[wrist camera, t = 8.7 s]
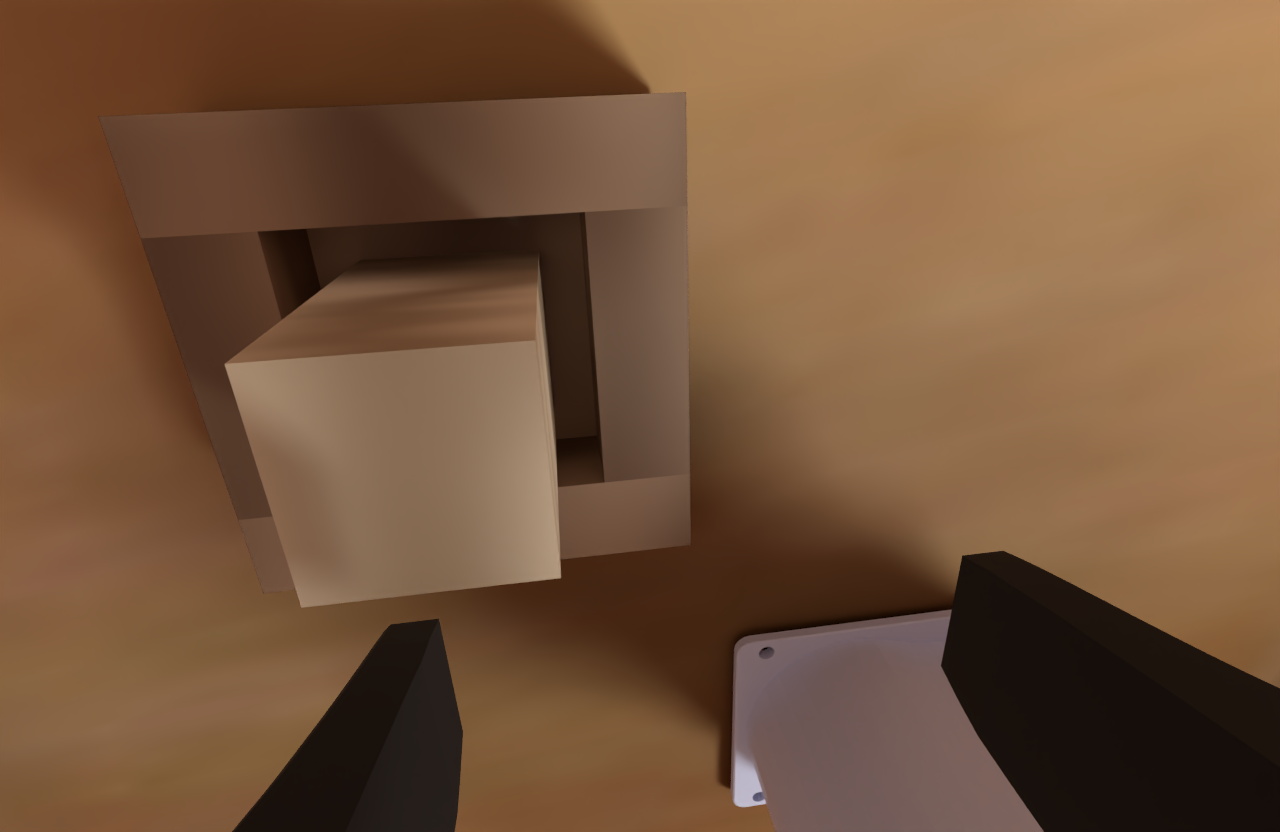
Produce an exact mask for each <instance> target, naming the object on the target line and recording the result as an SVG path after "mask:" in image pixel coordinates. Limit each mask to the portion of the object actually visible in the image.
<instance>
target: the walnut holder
mask: <svg viewBox="0 0 1280 832" xmlns="http://www.w3.org/2000/svg"><path fill="white" fill-rule="evenodd" d="M98 117H99V120H100V123H101V126H102V129H103V132H104V134H105V137H106V140H107V143H108V146H109V149H110V152H111V155H112V157H113V160H114V163H115V166H116V169H117V172H118V175H119V178H120V181H121V183H122V186H123V189H124V192H125V195H126V198H127V201H128V204H129V206H130V209H131V212H132V215H133V218H134V221H135V224H136V227H137V230H138V232H139V235H140V238H141V241H142V244H143V247H144V250H145V253H146V256H147V258H148V261H149V264H150V267H151V270H152V273H153V276H154V279H155V281H156V284H157V287H158V290H159V293H160V296H161V299H162V302H163V305H164V307H165V310H166V313H167V316H168V319H169V322H170V325H171V328H172V331H173V333H174V336H175V339H176V342H177V345H178V348H179V351H180V354H181V356H182V359H183V362H184V365H185V368H186V371H187V374H188V377H189V380H190V382H191V385H192V388H193V391H194V394H195V397H196V400H197V403H198V405H199V408H200V411H201V414H202V417H203V420H204V423H205V426H206V429H207V431H208V434H209V437H210V440H211V443H212V446H213V449H214V452H215V455H216V457H217V460H218V463H219V466H220V469H221V472H222V475H223V478H224V480H225V483H226V486H227V489H228V492H229V495H230V498H231V501H232V504H233V506H234V509H235V512H236V515H237V518H238V521H239V524H240V527H241V529H242V532H243V535H244V538H245V541H246V544H247V547H248V550H249V553H250V555H251V558H252V561H253V564H254V567H255V570H256V573H257V576H258V579H259V581H260V584H261V587H262V590H263V593H272V592H281V591H290V590H296V588H295V585H294V582H293V579H292V576H291V573H290V569H289V566H288V563H287V560H286V557H285V554H284V550H283V547H282V544H281V541H280V538H279V535H278V532H277V528H276V525H275V522H274V519H273V516H272V513H271V509H270V506H269V503H268V500H267V497H266V494H265V490H264V487H263V484H262V481H261V478H260V475H259V472H258V468H257V465H256V462H255V459H254V456H253V453H252V449H251V446H250V443H249V440H248V437H247V434H246V430H245V427H244V424H243V421H242V418H241V415H240V412H239V408H238V405H237V402H236V399H235V396H234V393H233V389H232V386H231V383H230V380H229V377H228V374H227V370H226V367H225V363H226V362H228V361H229V360H230V359H232V358H233V357H234V356H236V355H237V354H238V353H239V352H241V351H242V350H243V349H245V348H246V347H247V346H249V345H250V344H251V343H252V342H254V341H255V340H256V339H258V338H259V337H260V336H262V335H263V334H264V333H266V332H267V331H268V330H269V329H271V328H272V327H273V326H275V325H276V324H277V323H279V322H280V321H281V320H283V319H284V318H285V317H286V316H288V315H289V314H290V313H292V312H293V311H294V310H296V309H297V308H298V307H300V306H301V305H302V304H303V303H305V302H306V301H307V300H309V299H310V298H311V297H313V296H314V295H315V294H316V293H318V292H319V291H320V290H322V289H323V288H324V287H326V286H327V285H328V284H330V283H331V282H332V281H333V280H335V279H336V278H337V277H339V276H340V275H341V274H343V273H344V272H345V271H347V270H348V269H349V268H350V267H352V266H353V265H354V264H356V263H357V262H358V261H360V260H369V259H385V258H401V257H417V256H433V255H449V254H466V253H482V252H498V251H514V250H530V249H539V256H540V266H541V276H542V286H543V296H544V306H545V316H546V326H547V336H548V346H549V356H550V366H551V376H552V386H553V396H554V406H555V431H556V457H557V484H558V510H559V536H560V560H562V559H571V558H580V557H589V556H598V555H606V554H615V553H624V552H633V551H642V550H651V549H659V548H668V547H677V546H686V545H691V517H690V423H689V328H688V234H687V140H686V92H677V93H653V94H629V95H604V96H580V97H556V98H532V99H508V100H484V101H459V102H435V103H411V104H387V105H363V106H338V107H314V108H290V109H266V110H242V111H218V112H193V113H169V114H145V115H121V116H98Z"/></svg>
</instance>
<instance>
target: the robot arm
mask: <svg viewBox="0 0 1280 832" xmlns="http://www.w3.org/2000/svg"><path fill="white" fill-rule="evenodd" d="M765 647H769V648H767V649H766V650H761V649H763V648H765ZM462 738H463V730H462V726H461V721H460V716H459V712H458V707H457V702H456V698H455V693H454V688H453V684H452V679H451V674H450V670H449V665H448V660H447V655H446V651H445V646H444V641H443V637H442V632H441V627H440V623H439V619H433V620H425V621H417V622H409V623H400V624H392V625H390V626H389V627H388V628H387V629H386V630H385V631H384V632H383V634H382V635H381V636H380V638H379V639H378V641H377V642H376V643H375V645H374V646H373V648H372V649H371V650H370V652H369V653H368V655H367V656H366V658H365V659H364V660H363V662H362V663H361V665H360V666H359V667H358V669H357V670H356V672H355V673H354V675H353V676H352V677H351V679H350V680H349V682H348V683H347V684H346V686H345V687H344V689H343V690H342V691H341V693H340V694H339V695H338V697H337V698H336V699H335V701H334V702H333V704H332V705H331V706H330V708H329V709H328V710H327V712H326V713H325V715H324V716H323V717H322V719H321V720H320V721H319V723H318V724H317V725H316V727H315V728H314V729H313V730H312V732H311V733H310V734H309V736H308V737H307V738H306V740H305V741H304V742H303V744H302V745H301V746H300V748H299V749H298V750H297V751H296V753H295V754H294V755H293V757H292V758H291V759H290V761H289V762H288V763H287V765H286V766H285V767H284V769H283V770H282V771H281V772H280V774H279V775H278V776H277V778H276V779H275V780H274V781H273V783H272V784H271V785H270V786H269V788H268V789H267V790H266V791H265V793H264V794H263V795H262V796H261V798H260V799H259V800H258V801H257V802H256V804H255V805H254V806H253V807H252V808H251V810H250V811H249V812H248V813H247V814H246V816H245V817H244V818H243V819H242V821H241V822H240V823H239V824H238V825H237V827H236V828H235V829H234V830H233V831H232V832H454V831H455V825H456V819H457V812H458V798H459V785H460V771H461V754H462ZM731 795H732V799H733V802H734V804H735V805H737V806H740V807H748V806H755V805H761V804H767V807H768V810H769V813H770V817H771V820H772V823H773V826H774V829H775V832H1280V688H1278V687H1275V686H1273V685H1271V684H1269V683H1267V682H1265V681H1263V680H1261V679H1258V678H1256V677H1254V676H1252V675H1250V674H1248V673H1246V672H1244V671H1241V670H1239V669H1237V668H1235V667H1233V666H1231V665H1229V664H1227V663H1225V662H1223V661H1221V660H1219V659H1217V658H1215V657H1213V656H1211V655H1209V654H1207V653H1205V652H1203V651H1201V650H1199V649H1197V648H1195V647H1193V646H1191V645H1189V644H1187V643H1185V642H1183V641H1181V640H1179V639H1177V638H1175V637H1173V636H1171V635H1169V634H1167V633H1165V632H1163V631H1161V630H1160V629H1158V628H1156V627H1154V626H1152V625H1150V624H1148V623H1146V622H1144V621H1142V620H1140V619H1138V618H1136V617H1134V616H1132V615H1130V614H1129V613H1127V612H1125V611H1123V610H1121V609H1119V608H1117V607H1115V606H1113V605H1111V604H1109V603H1107V602H1105V601H1104V600H1102V599H1100V598H1098V597H1096V596H1094V595H1092V594H1090V593H1088V592H1086V591H1084V590H1082V589H1080V588H1079V587H1077V586H1075V585H1073V584H1071V583H1069V582H1067V581H1065V580H1063V579H1061V578H1059V577H1057V576H1055V575H1053V574H1051V573H1049V572H1047V571H1045V570H1043V569H1041V568H1039V567H1037V566H1035V565H1033V564H1031V563H1029V562H1027V561H1025V560H1023V559H1020V558H1018V557H1016V556H1014V555H1011V554H1009V553H1007V552H1005V551H998V552H990V553H981V554H973V555H965V556H962V561H961V566H960V571H959V576H958V581H957V586H956V591H955V596H954V601H953V606H952V610H944V611H936V612H928V613H921V614H913V615H905V616H898V617H890V618H882V619H874V620H867V621H859V622H851V623H843V624H836V625H828V626H820V627H812V628H805V629H797V630H789V631H781V632H774V633H766V634H758V635H751V636H746V637H743V638H742V639H740V640H739V641H738V642H737V643H736V644H735V648H734V673H733V715H732V756H731Z"/></svg>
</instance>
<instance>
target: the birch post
mask: <svg viewBox="0 0 1280 832" xmlns="http://www.w3.org/2000/svg"><path fill="white" fill-rule="evenodd" d="M225 367H226V370H227V374H228V377H229V380H230V383H231V386H232V389H233V393H234V396H235V399H236V402H237V405H238V408H239V412H240V415H241V418H242V421H243V424H244V427H245V430H246V434H247V437H248V440H249V443H250V446H251V449H252V453H253V456H254V459H255V462H256V465H257V468H258V472H259V475H260V478H261V481H262V484H263V487H264V490H265V494H266V497H267V500H268V503H269V506H270V509H271V513H272V516H273V519H274V522H275V525H276V528H277V532H278V535H279V538H280V541H281V544H282V547H283V550H284V554H285V557H286V560H287V563H288V566H289V569H290V573H291V576H292V579H293V582H294V585H295V588H296V592H297V595H298V598H299V601H300V604H301V607H302V608H303V607H312V606H321V605H330V604H338V603H347V602H356V601H365V600H373V599H382V598H391V597H400V596H408V595H417V594H426V593H435V592H444V591H452V590H461V589H470V588H479V587H487V586H496V585H505V584H514V583H522V582H531V581H540V580H549V579H557V578H561V563H560V536H559V510H558V484H557V457H556V431H555V406H554V396H553V386H552V376H551V366H550V356H549V346H548V336H547V326H546V316H545V306H544V296H543V286H542V276H541V266H540V256H539V249H530V250H514V251H498V252H482V253H466V254H449V255H433V256H417V257H401V258H385V259H369V260H360V261H358V262H357V263H356V264H354V265H353V266H352V267H350V268H349V269H348V270H347V271H345V272H344V273H343V274H341V275H340V276H339V277H337V278H336V279H335V280H333V281H332V282H331V283H330V284H328V285H327V286H326V287H324V288H323V289H322V290H320V291H319V292H318V293H316V294H315V295H314V296H313V297H311V298H310V299H309V300H307V301H306V302H305V303H303V304H302V305H301V306H300V307H298V308H297V309H296V310H294V311H293V312H292V313H290V314H289V315H288V316H286V317H285V318H284V319H283V320H281V321H280V322H279V323H277V324H276V325H275V326H273V327H272V328H271V329H269V330H268V331H267V332H266V333H264V334H263V335H262V336H260V337H259V338H258V339H256V340H255V341H254V342H252V343H251V344H250V345H249V346H247V347H246V348H245V349H243V350H242V351H241V352H239V353H238V354H237V355H236V356H234V357H233V358H232V359H230V360H229V361H228V362H226V363H225Z"/></svg>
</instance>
